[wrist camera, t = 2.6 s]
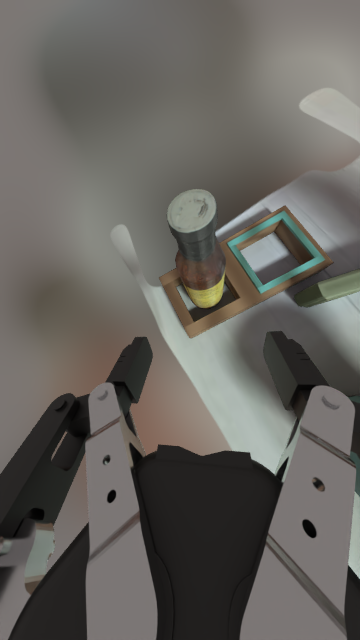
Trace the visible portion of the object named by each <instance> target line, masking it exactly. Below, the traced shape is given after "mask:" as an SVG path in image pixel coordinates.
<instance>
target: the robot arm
mask: <svg viewBox="0 0 360 640" xmlns="http://www.w3.org/2000/svg"><path fill="white" fill-rule="evenodd" d="M263 353H264V358H265V361H266V363H267V365H268V368H269V370H270V373H271V375H272V378H273V380H274V383H275V385H276V387H277V390H278V392H279V395H280V397H281V400H282V402H283V405H284V407H285V409H286V410H294V412H295V414H296V419H295V421H294V424H293V427H292V430H291V432H290V435H289V438H288V441H287V444H286V447H285V449H284V452H283V454H282V456H281V459H280V461H279V463H278V466H277V469H276V471H275V474H273V473H272V472H271V471H270V470H269V469H267V468H266V467H264V466H263V465H262V464H260V463H258V462H256V461H254V460H252V459H251V456H250V453H248V452H237V451H222V452H218V453H214V454H210V455H205V456H200V455H198V454H195V453H193V452H191V451H188V450H186V449H184V448H182V447H179V446H169V445H158V449H157V451H155V452H152V453H150V454H148V455H147V456H146V453H145V451H144V448H143V446H142V444H141V442H140V439H139V437H138V433H137V430H136V427H135V424H134V420H133V417H132V414H131V411H130V406H131V403H138V401H139V398H140V395H141V392H142V389H143V386H144V383H145V380H146V377H147V374H148V371H149V368H150V365H151V362H152V358H153V353H152V350H151V347H150V344H149V342H148V339H147V337H135V338H134V340H133V342H132V344H131V345H128V346H127V347H126V348H125V349H124V350H123V351H122V353H121V355H120V357H119V359H118V361H117V362H116V364H115V366H114V368H113V370H112V371H111V373H110V375H109V377H108V378H107V380H106V382H105V383H103V384H100V385H99V386H97V387H96V388H95V389H94V390H93V391H92V392H91V394H87V395H84V396H81V397H77V398H76V397H75V396H74V395H73V394H71V393H68V394H64V395H61V396H60V397H58V398H57V399H55V400H54V401H53V402H52V403H51V404H50V406H49V407H48V409H47V410H46V411H45V413H44V414H43V415H42V417H41V418H40V420H39V421H38V423H37V424H36V425H35V427H34V428H33V429H32V431H31V433H30V434H29V435H28V437H27V438H26V439H25V441H24V442H23V443H22V445H21V446H20V448H19V449H18V451H17V452H16V453H15V455H14V456H13V458H12V459H11V460H10V462H9V463H8V464H7V466H6V467H5V469H4V470H3V471H2V473H1V474H0V640H360V579H359V578H358V577H357V575H356V574H355V573H354V572H353V570H352V569H351V568H350V567H349V565H348V559H349V548H350V536H351V525H352V514H353V503H354V492H355V481H356V465H355V463H354V462H353V461H352V460H351V459H350V451H351V452H354V453H356V454H357V456H358V458H359V459H360V403H357V402H354V401H351V400H350V399H349V398H348V397H347V396H346V395H344V394H343V393H342V392H340V391H338V390H336V389H334V388H332V387H330V386H329V385H328V383H327V382H326V380H325V379H324V378H323V376H322V375H321V373H320V372H319V370H318V369H317V368H316V366H315V365H314V363H313V362H312V361H311V360H310V358H309V356H308V355H307V354H306V352H305V351H304V349H303V348H302V346H301V345H300V344H298V343H297V342H295V341H294V340H293V339H287V338H286V336H285V335H284V333H283V332H282V331H274V332H267V335H266V339H265V344H264V350H263ZM65 431H66V432H67V434H66V436H65V437H64V439H63V441H62V443H61V445H60V447H59V448H58V450H57V452H56V454H55V456H54V458H53V459H52V461H51V457H52V454H53V452H54V451H55V448H56V447H57V445H58V443H59V442H60V440H61V438H62V436H63V434H64V433H65ZM85 452H86V472H87V493H88V514H89V522H88V523H87V525H86V526H85V527H84V528H83V529H82V531H81V532H80V533H79V534H78V536H77V537H76V538H75V539H74V540H73V542H72V543H71V544H70V545H69V547H68V548H67V549H66V550H65V551H64V553H63V554H62V555H61V556H60V558H59V559H58V560H57V561H56V563H55V564H54V565H53V566H52V567H51V569H50V570H49V571H48V572H47V574H46V566H47V561H48V560H49V558H50V557H51V555H52V553H53V551H54V547H55V540H54V527H53V526H54V523H55V521H56V519H57V517H58V514H59V512H60V510H61V507H62V505H63V503H64V500H65V498H66V496H67V493H68V491H69V489H70V486H71V484H72V482H73V479H74V477H75V475H76V473H77V470H78V468H79V466H80V463H81V461H82V459H83V456H84V454H85Z"/></svg>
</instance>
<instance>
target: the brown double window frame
mask: <svg viewBox="0 0 360 640" xmlns="http://www.w3.org/2000/svg"><path fill="white" fill-rule="evenodd" d="M274 231H275V233H276V234H277V235H278V236H279V238H280V239H281V240H282V242H283V243H284V244H285V245H286V247H287V248H288V249H289V251H290V252H291V253H292V254H293V256H294V257H295V258H296V259H297V261H298V262H299V263H300V265H301V266H299V267H297V268H295V269H293V270H291V271H289V272H288V273H286V274H284V275H282V276H280V277H278V278H276V279H274V280H272V281H270V282H269V283H267V284H265V285H263V284H262V283H261V282H260V280H259V279H258V277H257V276H256V274H255V273H254V271H253V270H252V268H251V267H250V265H249V264H248V263H247V261H246V260H245V258H244V257H243V255H242V254H241V252H240V250H242V249H244V248H246V247H248V246H249V245H251V244H253V243H255V242H257V241H258V240H260V239H262V238H264V237H265V236H267V235H269V234H271V233H273V232H274ZM219 244H220V246H221V248H222V250H223V252H224V254H225V258H226V268H225V278H224V281H225V283H226V284H227V286H228V287H229V289H230V291H231V292H232V294H233V296H234V297H235V299H236V300H235V301H233V302H232V303H230V304H228V305H226V306H224V307H222V308H220V309H218V310H216V311H215V312H213V313H211V314H209V315H207V316H205V317H203V318H201V319H199V320H198V321H196V322H194V320H193V319H192V317H191V315H190V313H189V311H188V309H187V307H186V305H185V303H184V302H183V300H182V298H181V296H180V294H179V292H178V290H177V288H176V286H178V285H180V284H182V281H181V278H180V275H179V273H178V270H177V268H175V269H173V270H171V271H170V272H168V273H166V274H164V275H163V276H161V277H159V279H160V281H161V283H162V285H163V287H164V289H165V291H166V293H167V295H168V297H169V299H170V301H171V303H172V305H173V307H174V309H175V311H176V313H177V315H178V317H179V319H180V321H181V323H182V325H183V327H184V328H185V330H186V332H187V334H188V336H189V338H193V337H195V336H197V335H199V334H201V333H203V332H205V331H207V330H209V329H210V328H212V327H214V326H216V325H218V324H220V323H222V322H224V321H226V320H228V319H230V318H232V317H234V316H236V315H238V314H239V313H241V312H243V311H245V310H247V309H249V308H251V307H253V306H255V305H257V304H259V303H261V302H263V301H265V300H266V299H268V298H270V297H272V296H274V295H276V294H278V293H280V292H282V291H284V290H286V289H288V288H290V287H292V286H294V285H295V284H297V283H299V282H301V281H303V280H305V279H307V278H309V277H311V276H313V275H315V274H317V273H319V272H321V271H322V270H324V269H325V268H327V267H328V266H330V265H331V264H332V263H334V262H333V261H332V260H331V259H330V258H329V256H328V255H327V254H326V253H325V252H324V251H323V249H322V248H321V247H320V246H319V245H318V243H317V242H316V241H315V240H314V239H313V238H312V236H311V235H310V234H309V233H308V232H307V230H306V229H305V228H304V227H303V226H302V225H301V223H300V222H299V221H298V220H297V219H296V218H295V216H294V215H293V214H292V213H291V212H290V210H289V209H288V208H287V207H286V206H283V207H281V208H280V209H278V210H276V211H274V212H273V213H271V214H269V215H267V216H266V217H264V218H262V219H260V220H259V221H257V222H255V223H253V224H252V225H250V226H248V227H246V228H245V229H243V230H241V231H239V232H238V233H236V234H234V235H233V236H231V237H229V238H227V239H226V240H224V241H222V242H220V243H219Z"/></svg>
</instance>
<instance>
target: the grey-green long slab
mask: <svg viewBox="0 0 360 640" xmlns="http://www.w3.org/2000/svg"><path fill="white" fill-rule="evenodd" d="M359 291H360V269H357V270H354V271H351V272H348V273H345V274H342V275H339V276H336V277H332V278H329V279H326V280H323V281H320V282H318V283H316V284H314V285H312V286H310V287H308V288H306V289H304V290H302V291H301V292H299V293H297V294H295V295H294V298H295V300H296V303H297V305H298V306H300V307H302V306H303V307H311V306H314V305H317V304H321V303H324V302H327V301H331V300H334V299H337V298H340V297H343V296H347V295H350V294H353V293H356V292H359Z"/></svg>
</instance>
